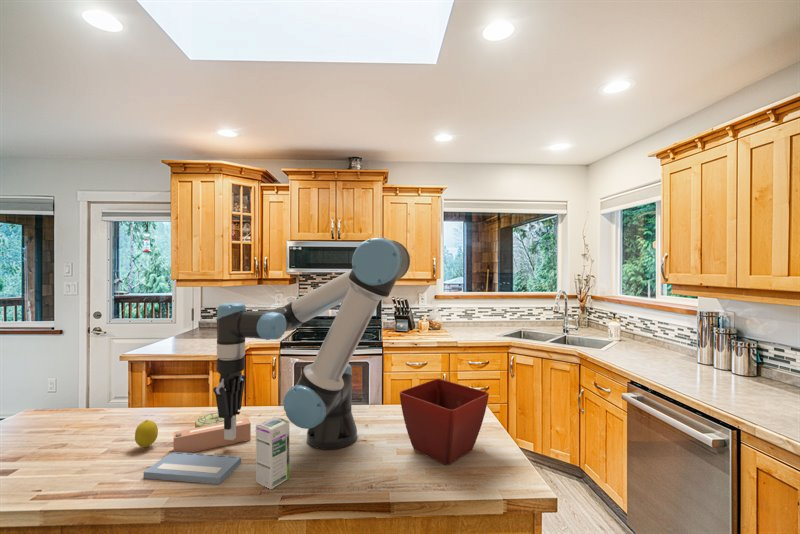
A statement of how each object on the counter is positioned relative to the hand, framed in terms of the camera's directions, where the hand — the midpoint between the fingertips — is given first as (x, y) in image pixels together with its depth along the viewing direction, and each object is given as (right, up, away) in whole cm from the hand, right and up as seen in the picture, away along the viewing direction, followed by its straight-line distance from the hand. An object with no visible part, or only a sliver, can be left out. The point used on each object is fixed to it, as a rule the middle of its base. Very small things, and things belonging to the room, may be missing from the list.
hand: (230, 438), depth 109 cm
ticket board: (-4, -3, -11) cm, 12 cm away
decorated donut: (-11, -3, +14) cm, 18 cm away
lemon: (-24, -3, 0) cm, 24 cm away
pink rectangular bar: (-6, -3, +2) cm, 7 cm away
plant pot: (+62, -4, +1) cm, 62 cm away
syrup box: (+18, -4, -16) cm, 24 cm away
